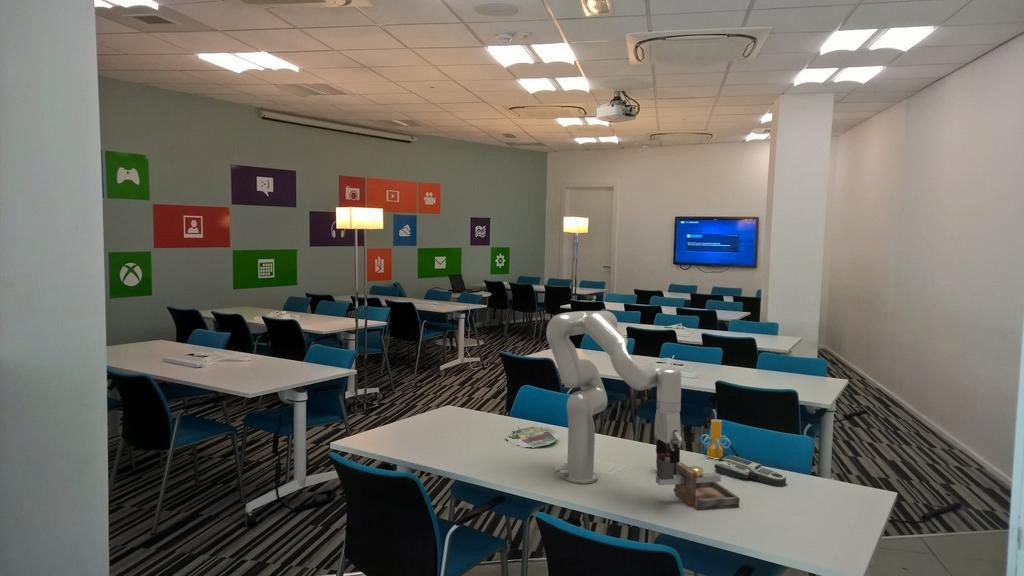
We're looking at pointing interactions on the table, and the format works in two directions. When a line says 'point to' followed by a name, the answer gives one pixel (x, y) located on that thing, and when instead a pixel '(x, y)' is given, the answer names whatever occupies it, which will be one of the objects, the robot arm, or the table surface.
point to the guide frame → (703, 492)
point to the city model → (535, 436)
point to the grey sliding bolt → (668, 478)
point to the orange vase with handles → (715, 440)
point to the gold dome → (697, 471)
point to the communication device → (747, 470)
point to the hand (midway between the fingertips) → (667, 457)
